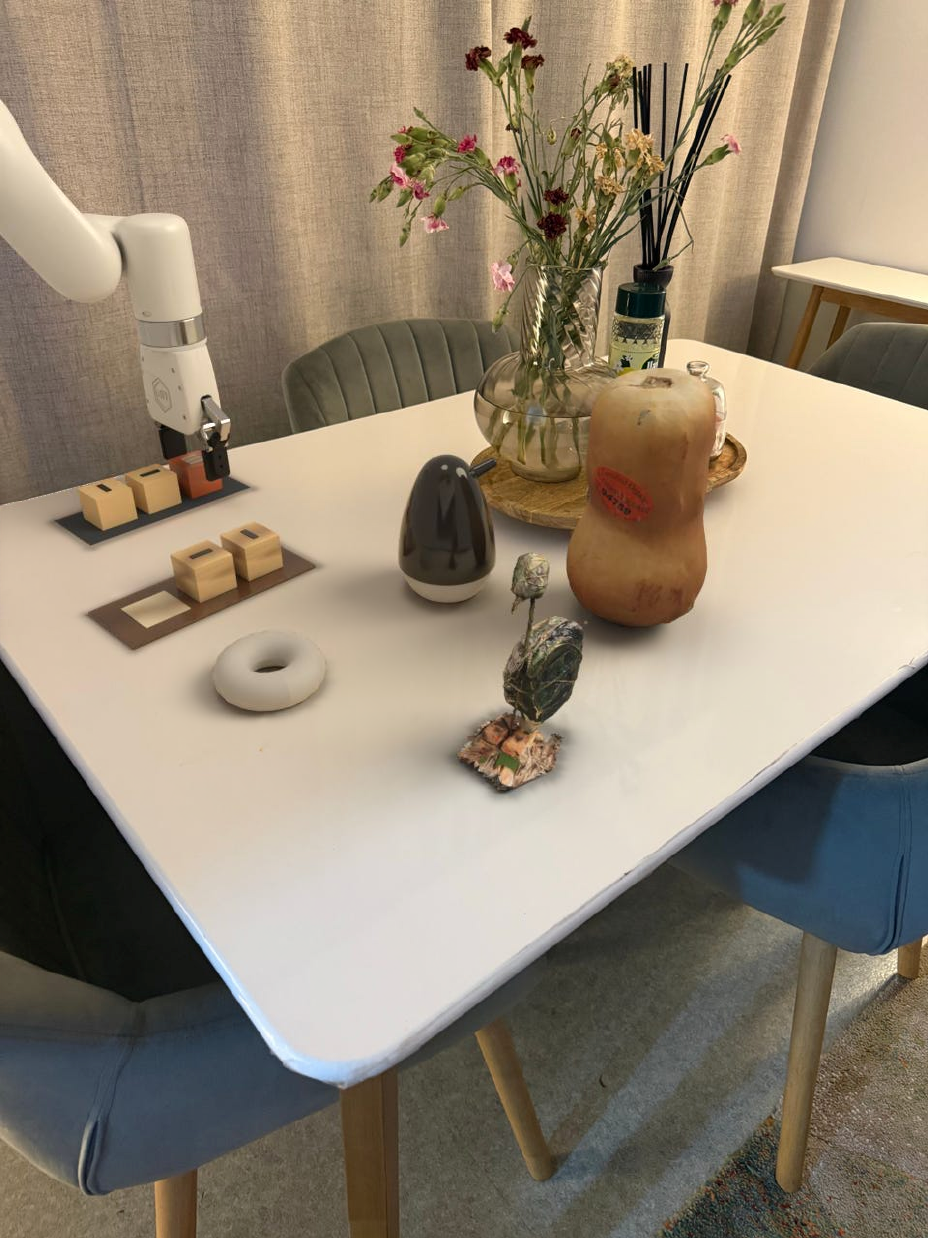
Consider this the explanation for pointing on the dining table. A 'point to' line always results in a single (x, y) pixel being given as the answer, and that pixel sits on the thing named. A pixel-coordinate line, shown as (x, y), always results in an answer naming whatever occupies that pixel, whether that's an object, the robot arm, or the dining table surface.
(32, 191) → the robot arm
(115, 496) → the slate word
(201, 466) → the red wooden slotted cube
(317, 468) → the dining table surface
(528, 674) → the plant with pod
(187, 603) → the walnut word
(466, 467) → the pump dispenser
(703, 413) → the butternut squash
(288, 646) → the donut
